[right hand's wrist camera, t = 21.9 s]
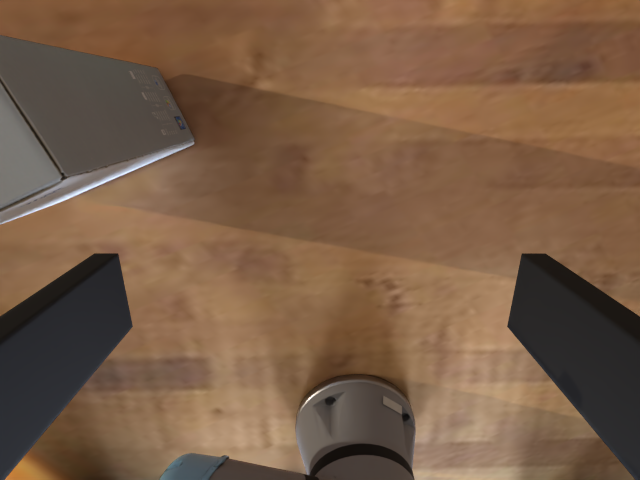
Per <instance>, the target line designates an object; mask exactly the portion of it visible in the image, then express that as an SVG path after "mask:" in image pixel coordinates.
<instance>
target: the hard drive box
mask: <svg viewBox="0 0 640 480" xmlns="http://www.w3.org/2000/svg"><path fill="white" fill-rule="evenodd" d="M194 140H195V139H194V137H193V135H192V133H191V131H190V129H189V127H188V125H187V123H186V121H185V119H184V117H183V115H182V113H181V111H180V109H179V108H178V106H177V104H176V102H175V100H174V98H173V96H172V94H171V92H170V90H169V89H168V87H167V85H166V83H165V81H164V79H163V77H162V75H161V74H160V72H159V70H158V69H157V68H155V67H150V66H146V65H141V64H136V63H132V62H127V61H122V60H117V59H112V58H107V57H102V56H97V55H92V54H88V53H83V52H78V51H73V50H68V49H64V48H59V47H54V46H49V45H44V44H40V43H35V42H30V41H25V40H21V39H16V38H11V37H7V36H2V35H0V224H3V223H6V222H8V221H11V220H14V219H17V218H19V217H22V216H25V215H27V214H30V213H33V212H35V211H38V210H41V209H43V208H46V207H49V206H51V205H54V204H57V203H59V202H62V201H64V200H67V199H69V198H71V197H74V196H76V195H78V194H80V193H83V192H85V191H87V190H89V189H92V188H94V187H96V186H99V185H101V184H103V183H105V182H108V181H110V180H112V179H115V178H117V177H119V176H122V175H124V174H126V173H129V172H131V171H133V170H136V169H138V168H140V167H143V166H145V165H147V164H150V163H152V162H154V161H157V160H159V159H161V158H164V157H166V156H168V155H171V154H173V153H175V152H178V151H180V150H182V149H185V148H187V147H189V146H191V145H193V144H194Z"/></svg>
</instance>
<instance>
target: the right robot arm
mask: <svg viewBox="0 0 640 480" xmlns="http://www.w3.org/2000/svg"><path fill="white" fill-rule="evenodd" d="M132 327H133V326H132V321H131V316H130V311H129V306H128V301H127V296H126V291H125V286H124V281H123V276H122V271H121V266H120V261H119V256H118V254H93V255H92V256H90V257H89V258H87V259H86V260H84V261H83V262H81V263H80V264H78V265H77V266H75V267H74V268H72V269H71V270H69V271H68V272H66V273H65V274H63V275H62V276H60V277H59V278H57V279H56V280H54V281H53V282H51V283H50V284H48V285H47V286H45V287H44V288H42V289H41V290H39V291H38V292H36V293H35V294H33V295H32V296H30V297H29V298H27V299H26V300H24V301H23V302H21V303H20V304H18V305H17V306H15V307H14V308H12V309H11V310H9V311H8V312H7V313H5V314H4V315H2V316H1V317H0V480H5V478H6V477H7V476H8V475H9V474H10V472H11V471H12V470H13V469H14V468H15V466H16V465H17V464H18V463H19V462H20V460H21V459H22V458H23V457H24V456H25V455H26V453H27V452H28V451H29V450H30V449H31V447H32V446H33V445H34V444H35V443H36V441H37V440H38V439H39V438H40V437H41V435H42V434H43V433H44V432H45V431H46V429H47V428H48V427H49V426H50V425H51V423H52V422H53V421H54V420H55V419H56V417H57V416H58V415H59V414H60V413H61V412H62V410H63V409H64V408H65V407H66V406H67V404H68V403H69V402H70V401H71V400H72V398H73V397H74V396H75V395H76V394H77V392H78V391H79V390H80V389H81V388H82V386H83V385H84V384H85V383H86V382H87V380H88V379H89V378H90V377H91V376H92V374H93V373H94V372H95V371H96V370H97V369H98V367H99V366H100V365H101V364H102V363H103V361H104V360H105V359H106V358H107V357H108V355H109V354H110V353H111V352H112V351H113V349H114V348H115V347H116V346H117V345H118V343H119V342H120V341H121V340H122V339H123V337H124V336H125V335H126V334H127V333H128V331H129V330H130V329H131V328H132ZM507 327H508V328H509V329H510V330H511V331H512V333H513V334H514V335H515V336H516V337H517V339H518V340H519V341H520V342H521V343H522V345H523V346H524V347H525V348H526V349H527V351H528V352H529V353H530V354H531V355H532V357H533V358H534V359H535V360H536V361H537V363H538V364H539V365H540V366H541V367H542V369H543V370H544V371H545V372H546V373H547V374H548V376H549V377H550V378H551V379H552V380H553V382H554V383H555V384H556V385H557V386H558V388H559V389H560V390H561V391H562V392H563V394H564V395H565V396H566V397H567V398H568V400H569V401H570V402H571V403H572V404H573V406H574V407H575V408H576V409H577V410H578V412H579V413H580V414H581V415H582V416H583V417H584V419H585V420H586V421H587V422H588V423H589V425H590V426H591V427H592V428H593V429H594V431H595V432H596V433H597V434H598V435H599V437H600V438H601V439H602V440H603V441H604V443H605V444H606V445H607V446H608V447H609V449H610V450H611V451H612V452H613V453H614V455H615V456H616V457H617V458H618V459H619V460H620V462H621V463H622V464H623V465H624V466H625V468H626V469H627V470H628V471H629V472H630V474H631V475H632V476H633V477H634V478H635V480H640V317H639V316H638V315H636V314H635V313H633V312H632V311H631V310H629V309H628V308H626V307H625V306H623V305H622V304H620V303H619V302H617V301H616V300H614V299H613V298H611V297H610V296H608V295H607V294H605V293H604V292H602V291H601V290H599V289H598V288H596V287H595V286H593V285H592V284H590V283H589V282H587V281H586V280H584V279H583V278H581V277H580V276H578V275H577V274H575V273H574V272H572V271H571V270H569V269H568V268H566V267H565V266H563V265H562V264H560V263H559V262H557V261H556V260H554V259H553V258H551V257H550V256H548V255H547V254H522V256H521V261H520V266H519V271H518V276H517V281H516V286H515V291H514V296H513V301H512V306H511V311H510V316H509V321H508V326H507ZM296 438H297V443H298V447H299V450H300V453H301V456H302V460H303V463H304V466H305V469H306V472H307V475H305V474H301V473H296V472H290V471H286V470H281V469H276V468H271V467H266V466H261V465H257V464H252V463H247V462H242V461H237V460H232V459H229V456H226V455H224V456H222V457H216V456H208V455H202V454H195V453H189V454H185V455H182V456H180V457H179V458H177V459H176V460H175V461H173V462H172V463H171V464H170V465H169V467H168V468H167V469H166V470H165V472H164V473H163V475H162V476H161V478H160V479H159V480H414V476H413V471H412V465H413V454H414V444H415V420H414V416H413V413H412V409H411V406H410V404H409V402H408V400H407V398H406V397H405V395H404V394H403V393H402V392H401V391H400V390H399V389H398V388H397V387H395V386H394V385H392V384H391V383H389V382H387V381H385V380H383V379H380V378H377V377H373V376H368V375H356V374H354V375H344V376H339V377H335V378H332V379H329V380H327V381H325V382H323V383H321V384H319V385H318V386H316V387H315V388H314V389H312V390H311V391H310V392H309V393H308V394H307V395H306V396H305V398H304V399H303V400H302V402H301V404H300V406H299V409H298V412H297V417H296Z"/></svg>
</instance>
